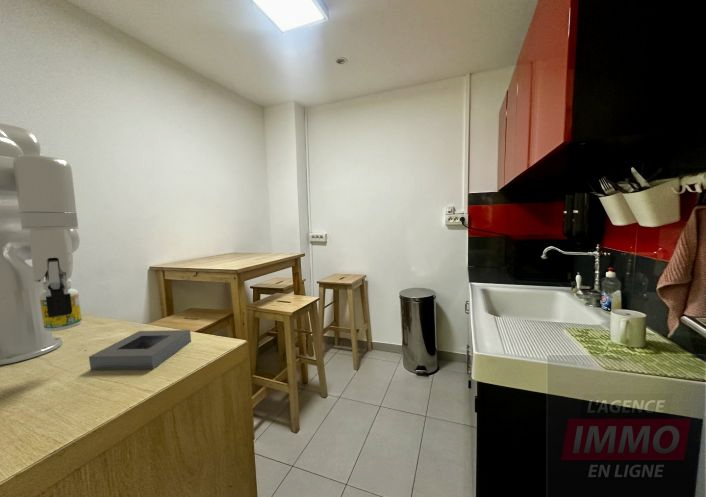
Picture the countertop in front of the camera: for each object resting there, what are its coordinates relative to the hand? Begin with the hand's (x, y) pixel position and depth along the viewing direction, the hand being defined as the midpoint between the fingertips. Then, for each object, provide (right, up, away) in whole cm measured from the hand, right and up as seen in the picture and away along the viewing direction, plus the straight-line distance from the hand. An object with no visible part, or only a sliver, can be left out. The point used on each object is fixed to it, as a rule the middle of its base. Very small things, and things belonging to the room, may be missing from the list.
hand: (61, 310), depth 56 cm
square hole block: (+12, -12, +7) cm, 18 cm away
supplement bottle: (0, -4, 0) cm, 4 cm away
